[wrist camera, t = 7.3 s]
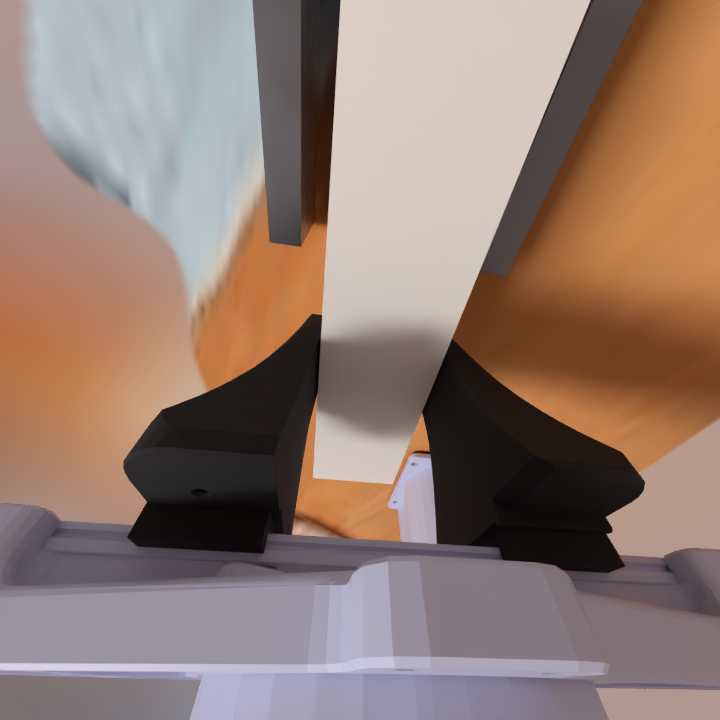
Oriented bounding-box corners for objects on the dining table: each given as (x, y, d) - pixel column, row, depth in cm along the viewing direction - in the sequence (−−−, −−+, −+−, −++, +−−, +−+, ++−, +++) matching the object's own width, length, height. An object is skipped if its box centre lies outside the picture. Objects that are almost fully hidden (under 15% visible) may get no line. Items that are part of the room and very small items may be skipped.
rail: (386, 409, 18) (392, 484, 14) (323, 402, 18) (312, 478, 14) (491, 41, 8) (612, -52, 4) (355, 14, 8) (347, -116, 4)
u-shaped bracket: (479, 246, 12) (506, 275, 10) (289, 218, 11) (269, 242, 9) (599, -55, 7) (714, -144, 5) (280, -133, 6) (232, -278, 4)
